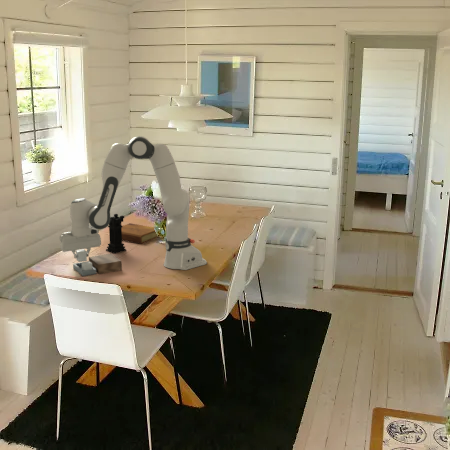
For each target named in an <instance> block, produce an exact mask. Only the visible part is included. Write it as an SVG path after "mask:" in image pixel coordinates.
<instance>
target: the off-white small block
mask: <svg viewBox="0 0 450 450" xmlns="http://www.w3.org/2000/svg"><path fill="white" fill-rule="evenodd" d="M82 270H83V271H86V270H92V263H91V262H90V261H89V260H87V262H86V261H82Z"/></svg>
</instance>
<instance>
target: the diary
mask: <svg viewBox="0 0 450 450" xmlns="http://www.w3.org/2000/svg"><path fill="white" fill-rule="evenodd" d="M122 226H123V227H122V241H123V240H124V242H128V241H129V243H134V244H138V245H139V244H140V245H143V244H145V243H147V242H150V241H153V240H156V239H157V234H156V232H155V230H154V228H155V227H154V226H149V225H148V226H147V225H143V224H142V225H141V224H137V223H132V222H131V223H127V224H124V225H122Z"/></svg>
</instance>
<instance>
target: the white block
mask: <svg viewBox="0 0 450 450" xmlns="http://www.w3.org/2000/svg"><path fill="white" fill-rule="evenodd" d="M86 252H87V250H85V249H80V250H76V252H75V254H77V255H78V258H76V261H77V263H80V262H86V261H88V259H87V258H88V257H87V254H86Z"/></svg>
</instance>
